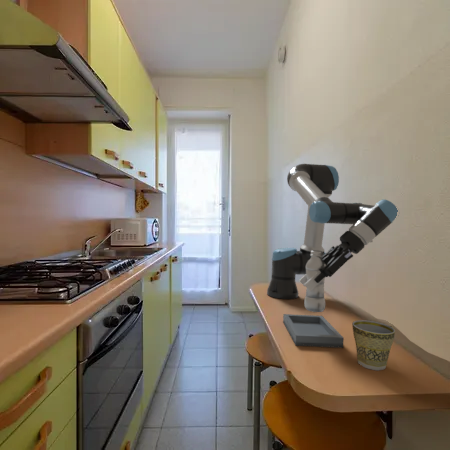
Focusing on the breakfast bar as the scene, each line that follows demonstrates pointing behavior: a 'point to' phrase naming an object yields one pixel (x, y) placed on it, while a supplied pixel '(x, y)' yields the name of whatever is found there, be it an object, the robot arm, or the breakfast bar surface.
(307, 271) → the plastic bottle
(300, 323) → the tray
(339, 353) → the breakfast bar surface
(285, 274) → the robot arm
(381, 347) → the ceramic cup
